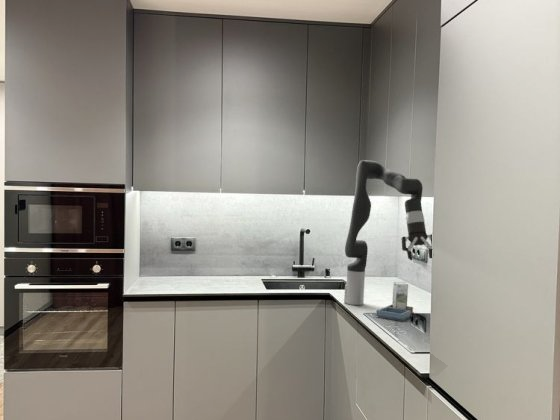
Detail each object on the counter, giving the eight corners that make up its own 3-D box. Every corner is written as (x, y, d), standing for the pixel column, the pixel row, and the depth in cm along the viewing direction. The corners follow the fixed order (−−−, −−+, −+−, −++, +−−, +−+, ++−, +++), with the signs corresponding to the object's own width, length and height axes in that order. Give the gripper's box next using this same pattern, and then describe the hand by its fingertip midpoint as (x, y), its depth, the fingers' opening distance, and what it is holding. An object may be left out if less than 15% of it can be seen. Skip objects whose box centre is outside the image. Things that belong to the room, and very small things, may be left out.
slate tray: (376, 316, 213) (376, 310, 213) (386, 312, 222) (386, 306, 222) (401, 321, 206) (401, 314, 206) (410, 317, 216) (410, 310, 216)
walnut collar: (385, 311, 225) (386, 306, 225) (393, 308, 233) (393, 303, 233) (405, 315, 219) (406, 310, 219) (412, 312, 227) (412, 307, 227)
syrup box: (403, 311, 229) (404, 281, 229) (406, 313, 223) (408, 283, 223) (391, 310, 229) (393, 281, 229) (395, 313, 223) (396, 283, 223)
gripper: (429, 222, 207) (434, 258, 203) (397, 225, 207) (402, 261, 204) (434, 219, 199) (439, 256, 196) (401, 222, 200) (406, 259, 196)
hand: (420, 259), depth 200 cm, fingers open, 8 cm apart
